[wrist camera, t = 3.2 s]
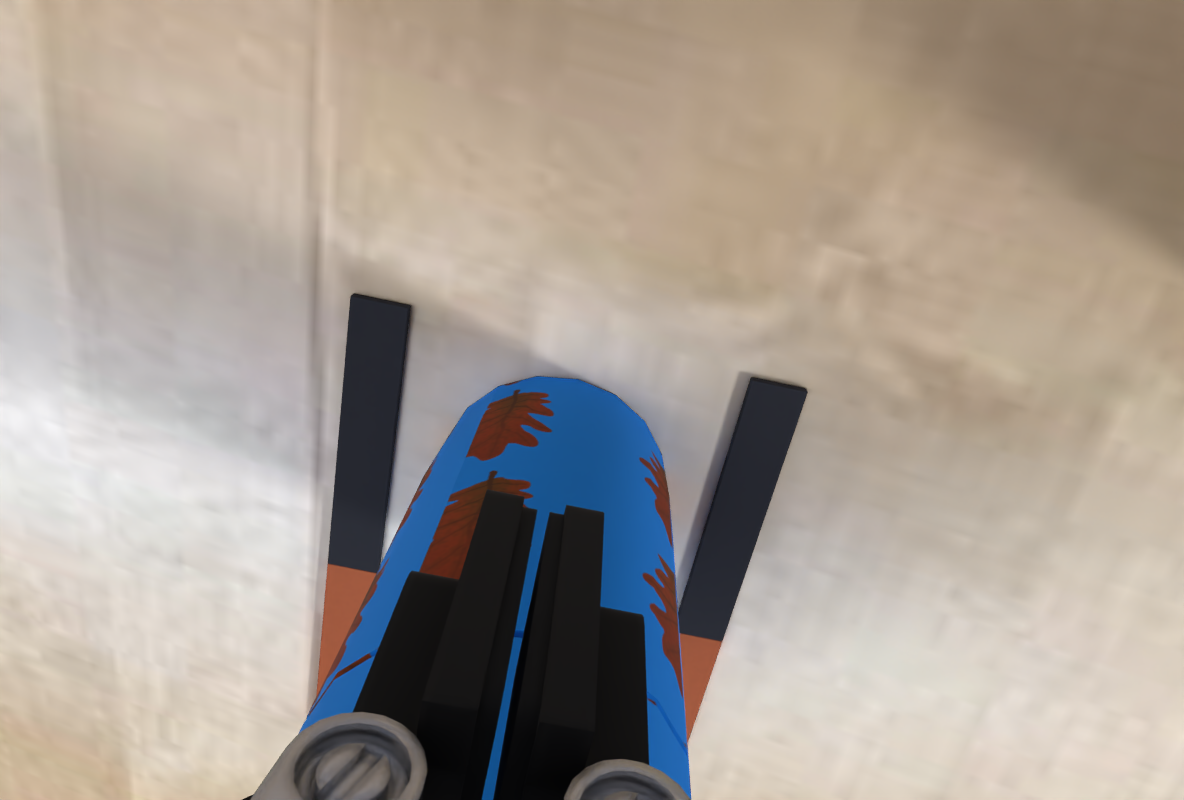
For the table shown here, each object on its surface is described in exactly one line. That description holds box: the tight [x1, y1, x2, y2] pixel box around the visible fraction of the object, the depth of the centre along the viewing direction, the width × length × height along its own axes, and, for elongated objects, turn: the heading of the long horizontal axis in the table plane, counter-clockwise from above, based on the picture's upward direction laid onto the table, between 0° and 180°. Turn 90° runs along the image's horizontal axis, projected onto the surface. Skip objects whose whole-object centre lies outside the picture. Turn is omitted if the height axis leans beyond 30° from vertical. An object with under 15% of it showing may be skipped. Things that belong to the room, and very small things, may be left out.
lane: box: [316, 294, 808, 742], centre depth 40 cm, size 26×20×1 cm
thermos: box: [299, 376, 691, 800], centre depth 27 cm, size 11×11×25 cm
